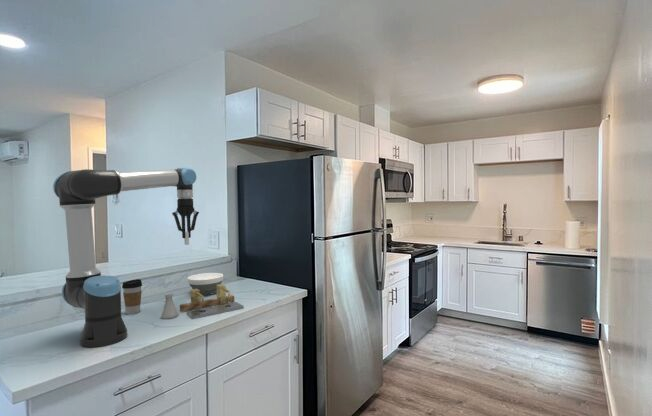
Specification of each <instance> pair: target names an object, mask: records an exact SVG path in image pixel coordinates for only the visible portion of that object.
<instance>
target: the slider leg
mask: <svg viewBox="0 0 652 416" xmlns="http://www.w3.org/2000/svg"><path fill="white" fill-rule="evenodd" d="M216 289H217V291H216V298H220V304H221V305H223V304H224V303H226V296H228V298H229V300H230V295H231V290H229V289H227V285H225V284H224V283H221V284H219V285H216ZM226 304H227V303H226Z"/></svg>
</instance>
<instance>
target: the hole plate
mask: <svg viewBox="0 0 652 416" xmlns="http://www.w3.org/2000/svg"><path fill="white" fill-rule="evenodd" d="M244 306H245V305H243V304H241V303H239V302H237V301H234V302H231V303H226V304H221V305H216V306H211V307H206V308H200V309H195V310H190V311H186V315H187V316H188V317H189V318H190V319H191V320H196V319H198V318H203V317H209V316H213V315H218V314H223V313H229V312H234V311H237V310H242V309H244Z"/></svg>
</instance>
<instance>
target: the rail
mask: <svg viewBox="0 0 652 416" xmlns="http://www.w3.org/2000/svg"><path fill="white" fill-rule="evenodd" d="M233 302H235V295H233V294H230V300H229V298H228V295H226V303H224V304H228V303H233ZM218 305H222V304H220V298H217V297H213V298H208V299H204V295H201V294H200V290H198V289H192V288H191V289H190V302H187V303H185V302H184V303H181V304H179V312H181V313H184V312H188V311H193V310H198V309H203V308H208V307H213V306H218Z"/></svg>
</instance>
